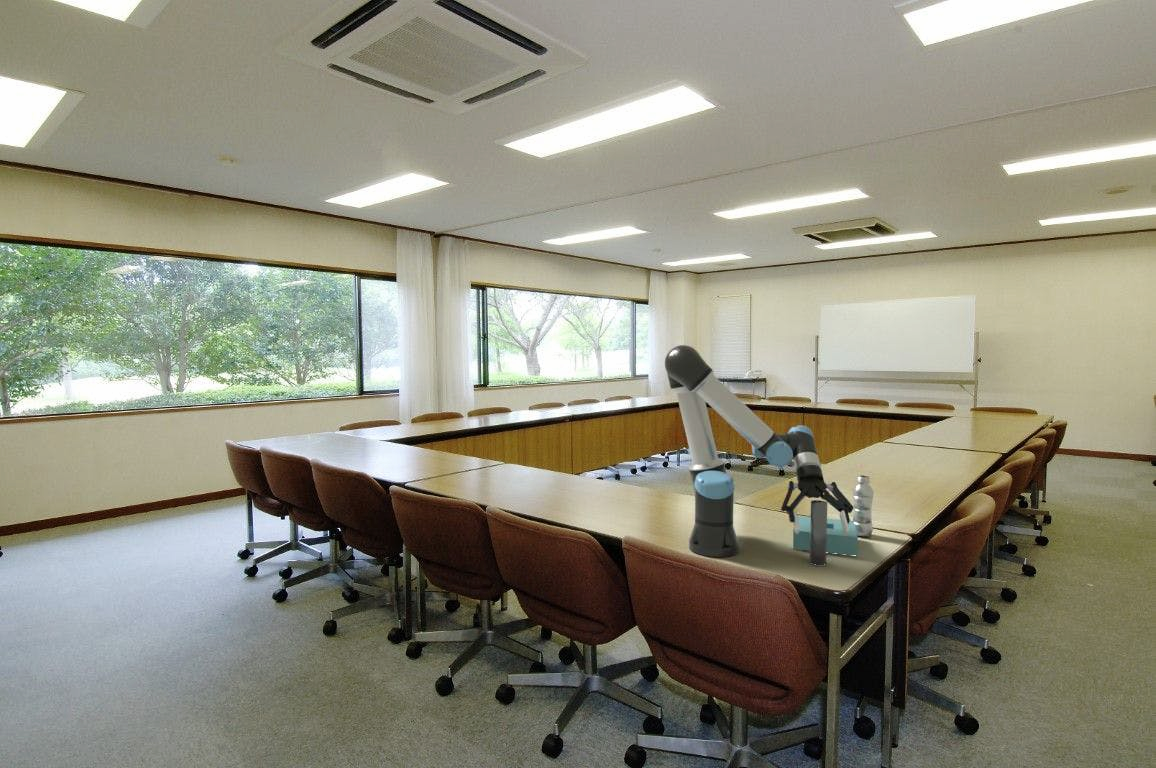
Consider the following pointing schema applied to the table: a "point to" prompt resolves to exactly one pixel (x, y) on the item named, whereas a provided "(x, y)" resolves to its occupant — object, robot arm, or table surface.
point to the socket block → (834, 537)
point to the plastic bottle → (863, 506)
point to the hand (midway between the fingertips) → (822, 532)
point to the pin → (818, 532)
